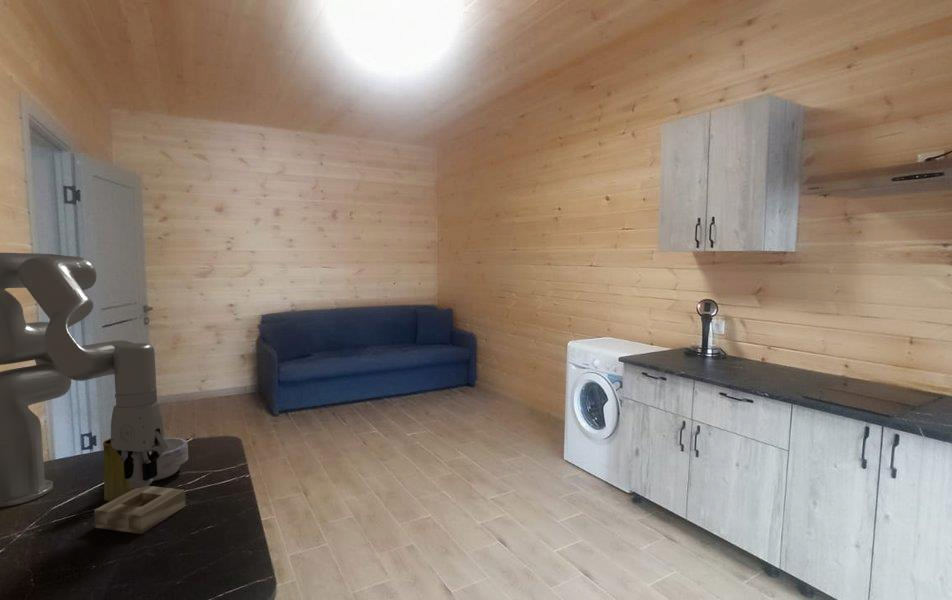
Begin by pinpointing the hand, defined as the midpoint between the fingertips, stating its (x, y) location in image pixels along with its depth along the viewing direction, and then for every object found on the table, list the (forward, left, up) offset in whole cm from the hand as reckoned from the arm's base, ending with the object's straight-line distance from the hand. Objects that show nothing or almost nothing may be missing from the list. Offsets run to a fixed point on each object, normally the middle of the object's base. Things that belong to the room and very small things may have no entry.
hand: (141, 476), depth 109 cm
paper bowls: (-15, +19, -10) cm, 26 cm away
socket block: (0, 0, -9) cm, 9 cm away
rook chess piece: (0, 0, -2) cm, 2 cm away
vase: (-14, +7, -10) cm, 19 cm away
